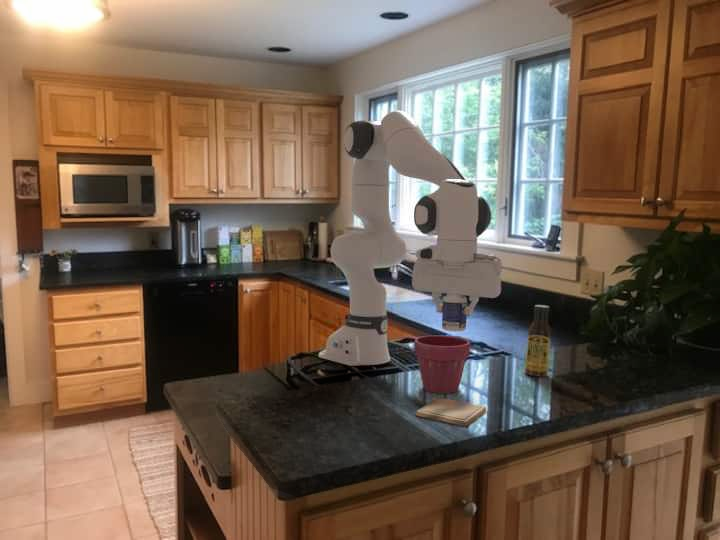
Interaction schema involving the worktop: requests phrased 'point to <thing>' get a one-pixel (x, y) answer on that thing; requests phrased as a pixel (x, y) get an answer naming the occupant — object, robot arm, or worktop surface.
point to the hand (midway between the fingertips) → (454, 313)
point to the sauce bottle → (538, 343)
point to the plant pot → (441, 361)
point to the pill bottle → (454, 311)
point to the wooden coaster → (451, 411)
